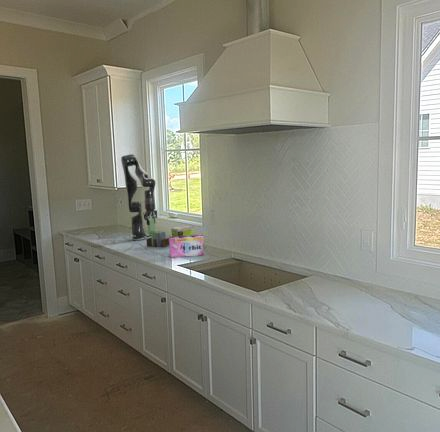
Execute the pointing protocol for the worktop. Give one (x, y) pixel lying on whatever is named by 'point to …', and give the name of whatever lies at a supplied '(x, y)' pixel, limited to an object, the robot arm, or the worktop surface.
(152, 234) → the green books
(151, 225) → the green book
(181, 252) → the gum box
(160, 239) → the grey books
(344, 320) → the worktop surface
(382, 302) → the worktop surface
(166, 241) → the book rack
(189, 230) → the tea box
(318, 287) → the worktop surface
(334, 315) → the worktop surface
